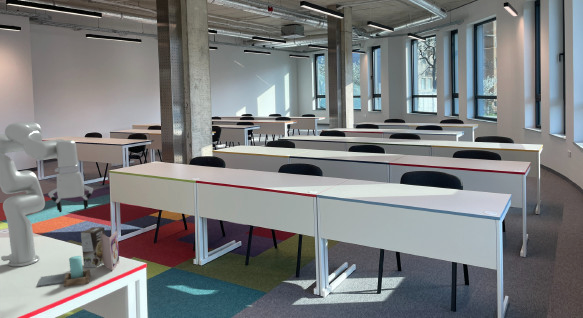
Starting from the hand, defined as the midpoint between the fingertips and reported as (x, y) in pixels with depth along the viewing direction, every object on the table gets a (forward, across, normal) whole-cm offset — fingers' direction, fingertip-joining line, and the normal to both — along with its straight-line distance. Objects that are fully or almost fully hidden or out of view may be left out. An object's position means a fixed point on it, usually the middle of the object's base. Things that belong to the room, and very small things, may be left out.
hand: (73, 210), depth 200 cm
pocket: (+28, 0, -8) cm, 29 cm away
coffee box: (+28, +6, +11) cm, 31 cm away
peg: (+28, 0, -8) cm, 29 cm away
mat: (+28, -10, -2) cm, 30 cm away
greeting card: (+28, +12, +4) cm, 31 cm away
